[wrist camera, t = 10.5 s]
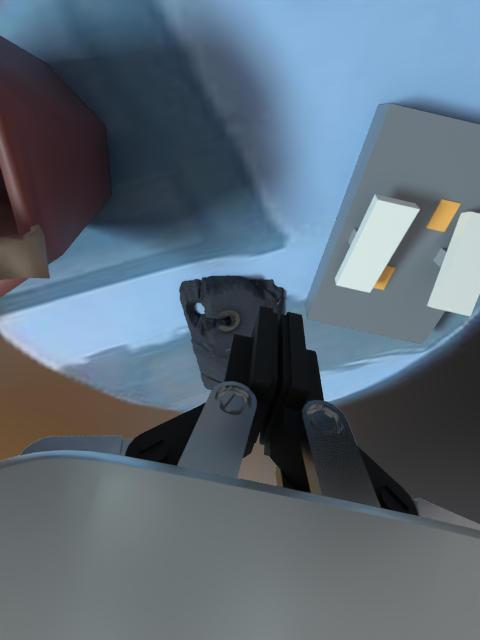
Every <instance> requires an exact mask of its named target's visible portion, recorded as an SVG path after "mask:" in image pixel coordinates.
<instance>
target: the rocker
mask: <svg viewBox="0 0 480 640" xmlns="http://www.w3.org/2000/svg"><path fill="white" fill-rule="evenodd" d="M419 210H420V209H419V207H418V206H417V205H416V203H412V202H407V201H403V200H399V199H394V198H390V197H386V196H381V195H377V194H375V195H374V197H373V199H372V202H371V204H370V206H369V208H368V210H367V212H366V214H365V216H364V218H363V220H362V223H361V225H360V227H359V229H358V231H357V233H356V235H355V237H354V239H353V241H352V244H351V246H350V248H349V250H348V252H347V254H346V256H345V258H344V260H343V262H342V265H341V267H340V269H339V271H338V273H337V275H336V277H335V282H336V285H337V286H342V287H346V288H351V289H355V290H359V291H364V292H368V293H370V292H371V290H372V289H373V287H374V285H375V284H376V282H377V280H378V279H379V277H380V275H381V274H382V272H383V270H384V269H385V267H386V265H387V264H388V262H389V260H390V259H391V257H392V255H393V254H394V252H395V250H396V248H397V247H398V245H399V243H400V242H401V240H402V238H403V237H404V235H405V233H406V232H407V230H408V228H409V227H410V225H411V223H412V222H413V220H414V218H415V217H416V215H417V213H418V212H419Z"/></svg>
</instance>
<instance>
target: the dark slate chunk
mask: <svg viewBox="0 0 480 640" xmlns="http://www.w3.org/2000/svg"><path fill="white" fill-rule="evenodd" d="M179 292H180V301H181V304H182V307H183V310H184V315H185V317H186V321H187V323H188V327H189V330H190V332H191V336H192V340H191V342H192V344H193V350H194V353H195V355H196V357H197V362H198V364H199V368H200V371H201V378H202V381H203V383H204V386H205V387H206V388H207V389H209V390H213V388H214V387H215V386H216V385H218V384H219V383H223V382H224V377H225V372H226V368H227V363H228V358H229V354H230V349H231V345H232V340H233V336H234V334H238V335H243V336H248V337H251V335H252V331H253V327H254V324H255V320H256V316H257V312H258V309H259V306H264V307H268V308H273V312H274V313H278V323H279V320H280V317H281V315H282V309H283V308H282V305H283V300H284V299H283V294H284V289H283V288H280V287H279V288H277V287H276V286H275V285H274V283H273V280H248V279H245V278H243V277H240V276H210V277H208V278H207V279H205V278H202V280H197V279H195V280H194V281H187V282H185V281H184V282H182V284H181V286H180V290H179ZM196 302H198V303H201V304H202V305H203V306H204V308H205V311H204V312H205V314H197V313H196V312H195V311H194V309H193V306H194V304H195V303H196Z"/></svg>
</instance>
